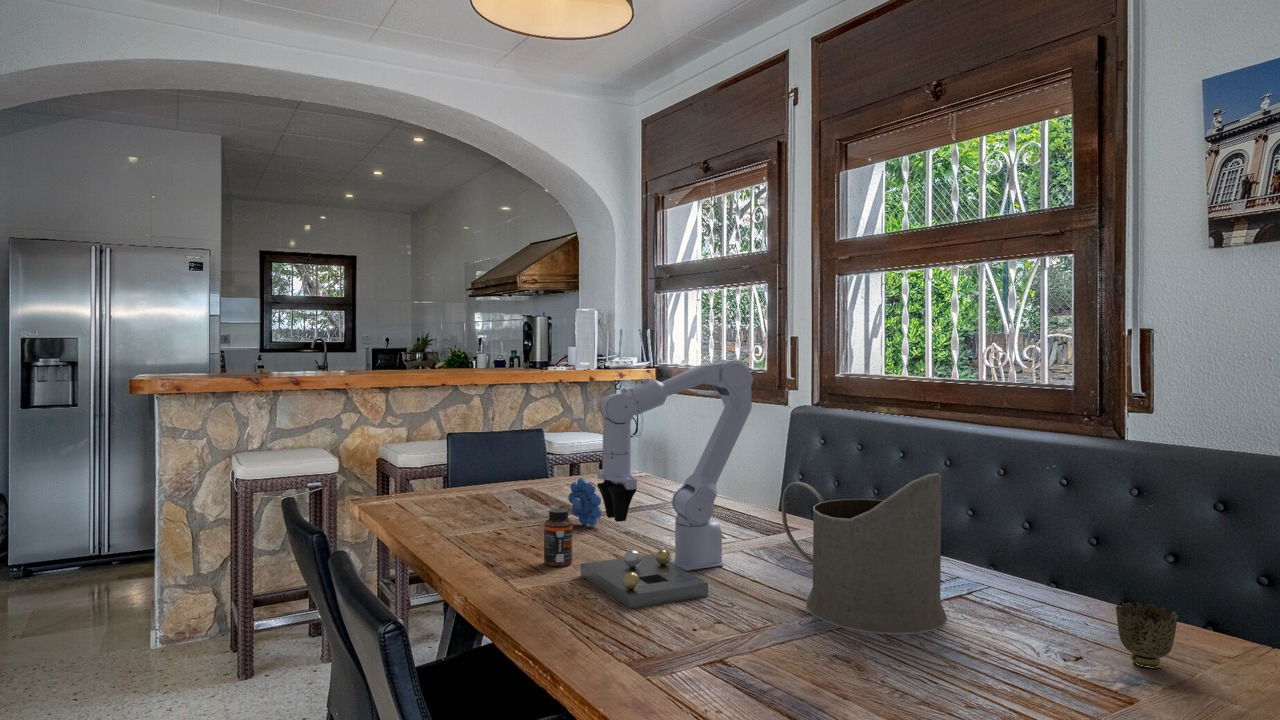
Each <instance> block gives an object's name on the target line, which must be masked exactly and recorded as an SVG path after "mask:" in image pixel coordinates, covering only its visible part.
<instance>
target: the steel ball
mask: <svg viewBox="0 0 1280 720" xmlns="http://www.w3.org/2000/svg"><path fill="white" fill-rule="evenodd" d="M640 553H641V552H639V551H638V550H636V549H630V550H627V551H626V552H625V554H624V556H623V558H624V562H625V564H626V565H627V566H628V567H630V568H635V567H637V566H638V565H639V564H640V563H641V556H642V555H641V554H640Z"/></svg>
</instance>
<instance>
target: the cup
mask: <svg viewBox="0 0 1280 720" xmlns="http://www.w3.org/2000/svg"><path fill="white" fill-rule="evenodd" d="M1116 604H1117V605H1115V606H1114V607H1115V612H1116V613H1115V614H1116V621H1117V630H1118V634H1119V636H1118V637H1119V639H1120V642H1121V643H1122V645H1123V647H1124V648H1125V649H1126V650H1127V651H1128V652H1130V657H1129V658H1130V660H1131V662H1132V661H1133V662H1134V663H1137V664H1139V665H1143V666H1150V667H1156V666H1159V665H1160V666H1161V664H1162V661H1161V658H1163V657H1166V656H1167V655H1168V654H1170V652H1171V651H1172V649H1173V646H1174V641H1175V637H1176V629H1177V623H1178V618H1179V615H1178V614H1177V613H1176V611H1172V612H1171V614H1170V613H1167V610H1166V608H1165V607H1164V606H1160V608H1158V607H1157V606H1156V605H1154V604H1153V603H1149V604H1146V605H1145V606H1143V604H1141V603H1140V602H1139V601H1138V602H1136V604H1135V605H1134V604H1133V603H1131V602H1130V601H1128V602H1126V603H1125V601H1123V602H1122V603H1121V605H1119V603H1116ZM1133 662H1132V663H1133ZM1134 663H1133V664H1134ZM1160 666H1159V667H1160Z"/></svg>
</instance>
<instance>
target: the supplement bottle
mask: <svg viewBox="0 0 1280 720" xmlns="http://www.w3.org/2000/svg"><path fill="white" fill-rule="evenodd" d="M543 524H544V526H543V527H544V531H543V533H544V534H543V535H544V536H543V563H544V564H545V565H546V566H549V567H557V568H558V567H559V568H560V567H566V566H570V564H572V561H573V529H574V528H573V521H572V520H571V519H570V518H569V509H568V508H552V509H551V508H550V509H549V511H548V519H547V520H545V522H544V523H543Z"/></svg>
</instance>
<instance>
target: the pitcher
mask: <svg viewBox="0 0 1280 720" xmlns="http://www.w3.org/2000/svg"><path fill="white" fill-rule="evenodd" d="M794 485H797V486H801V487H804V488H806V489H807V490H809V491H810V492H811V493H812V494H814V496H815V497H816V498H817V500H818V503H817V504H815V505H814V506H813V508H812V509H813V512H812V513H813V516H812V517H813V523H812V524H813V525H812V526H813V527H812V528H813V529H812V531H813V534H812V536H813V537H812V539H813V540H812V545H813V547H812V550H813V551H812V554H813V555H812V557H811V556H809V555H808V554H807V553H806V552H805V551H804V550H803V549H802V548H801V547H800V545H799V544H798V543H797V541H796V540H795V538H794V537H793V536H794V535H793V534H792V533H791V531H790V528H789V525H788V521H787V520H788V519H787V497H788V493H789V491H790V489H791V488H792V487H793V486H794ZM781 518H782V519H781V520H782V525H783V528H784V531H785V533H786V534H785V535H786V536H787V537H788V539H789V541H790V542H791V544H792V546H793V547H794V548H795V549H796V550H797V552H798V553H799V554H800V555H801V556H802V557H803V558H804V559H805V560H806V561H808V562H809V563H811V564H812V587H811V590H810V592H809V595H808V597H807V599H806V605H805V606H806V607H805V609H806V610H807V611H808V612H809V613H810V614H811V615H812V616H813V617H816V618H817V619H819V620H822V621H823V622H824V623H827V624H831V625H834V626H835V627H836V626H837V627H840V628H842V629H846V630H851V631H857V632H862V633H865V634H866V633H867V634H877V635H878V634H879V635H887V636H888V635H889V636H894V635H895V636H897V635H899V636H900V635H901V636H902V635H918V634H924V633H929V631H930V632H933V631H935V629H936V630H937V628H938V629H940V628H942V627H944V626H943V625H945V624H946V621H947V620H948V617H947V614H946V612H945V609H944V607H943V604H942V602H941V579H942V577H941V573H942V572H941V571H942V570H941V569H942V568H941V564H942V563H941V561H942V559H941V558H942V557H941V556H942V553H941V552H942V475H941V474H939V473H938V472H935V473H930V474H926V475H923V476H921V477H919V478H917V479H914V480H912V481H910V482H909V483H906V485H904V486H902V487H901V488H899V489H898V490H897V491H896V492H894V493H892V494H891V495H889V497H887V498H886V499H884V500H883V499H868V498H867V499H865V498H859V499H858V498H856V499H855V498H854V499H852V498H851V499H850V498H849V499H833V500H827V501H825V500H824V498H823V497H822V495H821V494H820V492H818V490H816V489H815V488H814V487H812V485H809V484H808V483H805V482H801V481H793V482H790V483H789V484H788V485H787V486H786V487H785V488H784V490H783V493H782V496H781ZM946 619H947V620H946ZM944 623H945V624H944ZM941 626H942V627H941ZM939 627H940V628H939ZM923 632H924V633H923Z"/></svg>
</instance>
